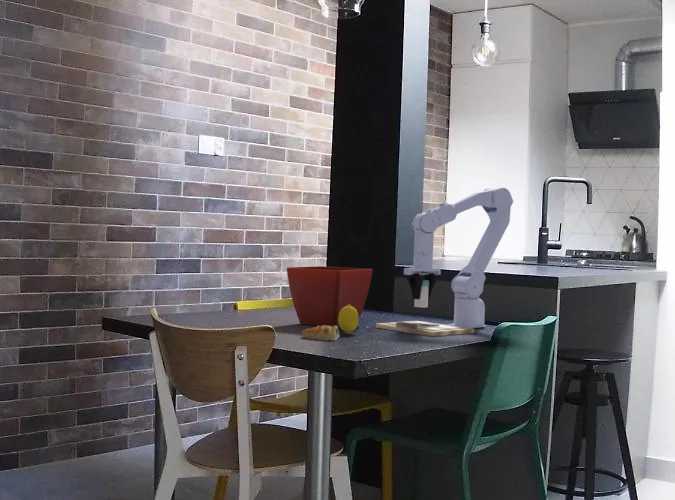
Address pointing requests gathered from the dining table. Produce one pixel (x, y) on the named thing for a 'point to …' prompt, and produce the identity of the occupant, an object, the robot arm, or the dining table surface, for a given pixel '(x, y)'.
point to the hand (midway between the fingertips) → (421, 298)
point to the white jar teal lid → (423, 295)
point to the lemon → (348, 318)
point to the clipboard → (425, 328)
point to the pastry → (322, 333)
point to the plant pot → (327, 292)
